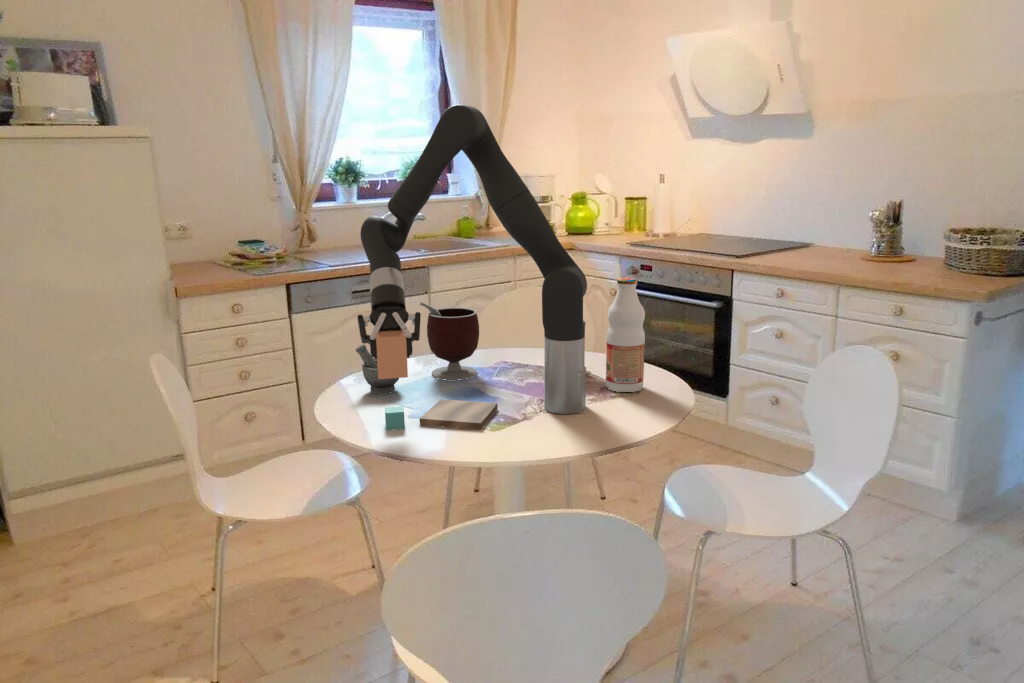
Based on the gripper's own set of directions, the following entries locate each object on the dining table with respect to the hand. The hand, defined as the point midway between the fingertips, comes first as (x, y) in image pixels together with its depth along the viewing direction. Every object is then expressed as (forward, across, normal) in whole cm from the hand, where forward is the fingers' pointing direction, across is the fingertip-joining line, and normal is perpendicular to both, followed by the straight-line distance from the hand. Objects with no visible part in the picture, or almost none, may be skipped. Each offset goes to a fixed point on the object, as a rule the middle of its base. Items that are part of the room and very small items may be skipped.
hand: (392, 356), depth 164 cm
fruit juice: (-1, +58, +24) cm, 63 cm away
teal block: (+10, 0, +13) cm, 16 cm away
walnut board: (+8, +15, +15) cm, 22 cm away
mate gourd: (-17, +17, +40) cm, 46 cm away
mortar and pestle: (-9, -3, +32) cm, 34 cm away
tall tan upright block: (+2, 0, +4) cm, 5 cm away
